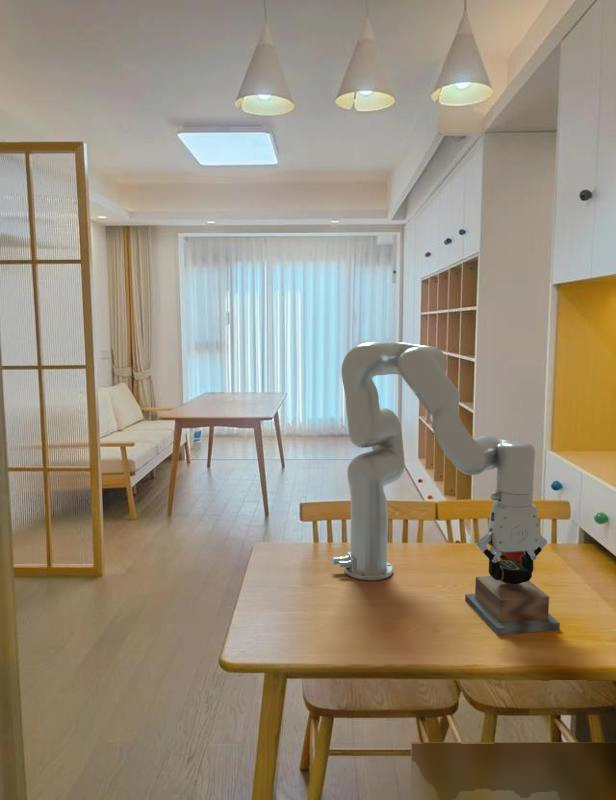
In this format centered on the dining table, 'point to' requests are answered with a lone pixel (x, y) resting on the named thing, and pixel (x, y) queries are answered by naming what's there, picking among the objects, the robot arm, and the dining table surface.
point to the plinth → (511, 625)
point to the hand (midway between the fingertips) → (510, 575)
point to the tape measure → (513, 572)
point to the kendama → (514, 556)
